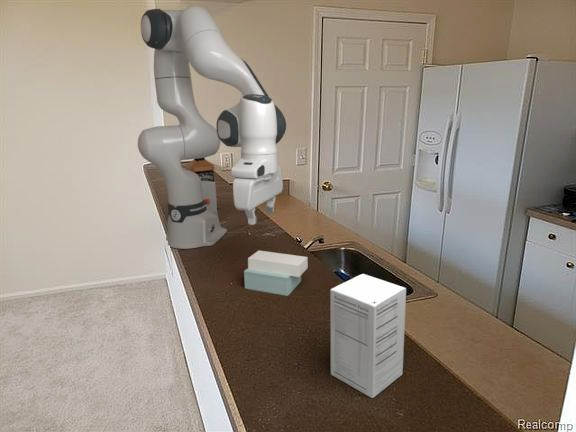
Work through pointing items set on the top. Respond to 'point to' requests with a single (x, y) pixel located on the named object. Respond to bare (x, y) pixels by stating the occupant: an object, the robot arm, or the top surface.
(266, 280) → the case
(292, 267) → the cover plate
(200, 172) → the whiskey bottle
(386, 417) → the top surface
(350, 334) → the supplement box
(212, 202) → the skincare box
